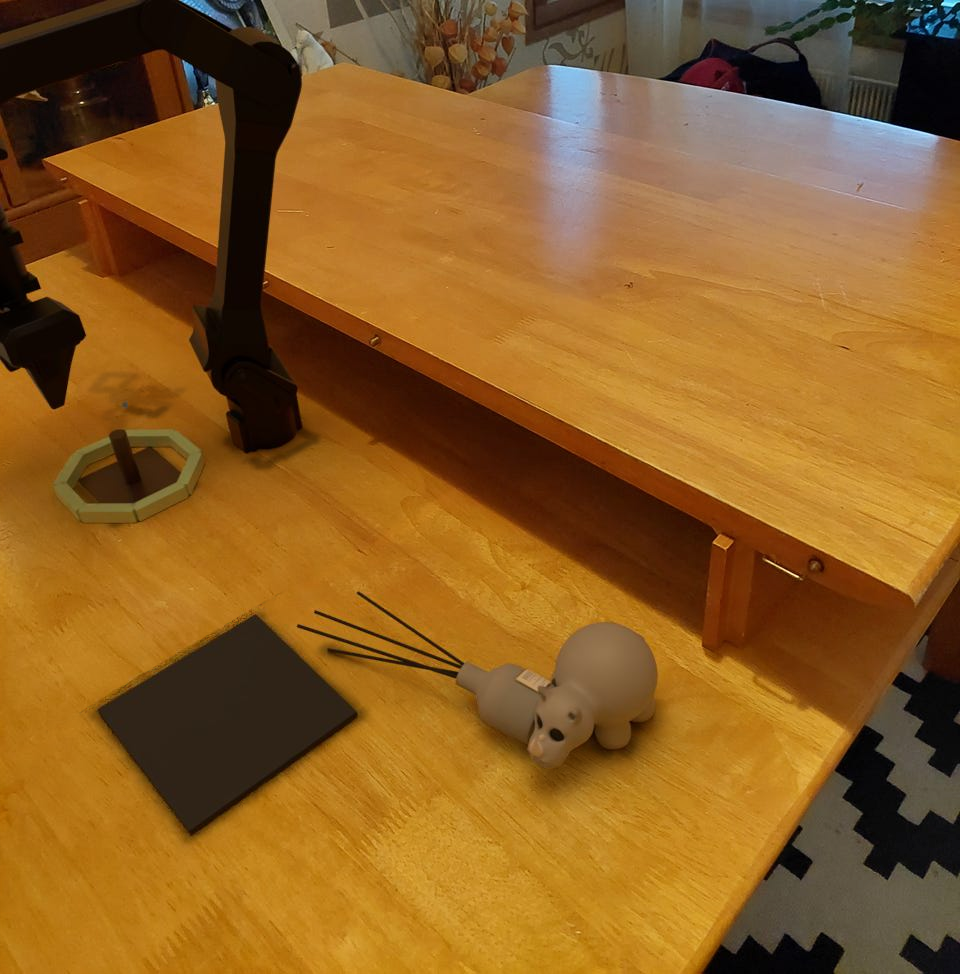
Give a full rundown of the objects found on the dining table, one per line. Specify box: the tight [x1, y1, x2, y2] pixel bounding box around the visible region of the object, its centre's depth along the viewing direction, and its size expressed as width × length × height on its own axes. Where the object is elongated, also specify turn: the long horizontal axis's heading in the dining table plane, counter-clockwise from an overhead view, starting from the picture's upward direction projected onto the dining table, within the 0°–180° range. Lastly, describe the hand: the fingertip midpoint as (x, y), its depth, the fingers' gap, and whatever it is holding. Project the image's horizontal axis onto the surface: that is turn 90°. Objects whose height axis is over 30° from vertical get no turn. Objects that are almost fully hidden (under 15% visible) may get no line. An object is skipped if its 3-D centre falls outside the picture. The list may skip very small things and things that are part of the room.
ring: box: [52, 428, 206, 524], centre depth 91 cm, size 13×13×1 cm
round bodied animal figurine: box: [526, 621, 659, 769], centre depth 65 cm, size 7×12×8 cm, turn 137°
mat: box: [97, 613, 359, 836], centre depth 70 cm, size 14×14×1 cm
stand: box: [78, 428, 182, 504], centre depth 90 cm, size 8×8×6 cm
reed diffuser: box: [296, 591, 557, 745], centre depth 70 cm, size 10×7×20 cm
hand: (35, 387), depth 83 cm, fingers open, 9 cm apart
